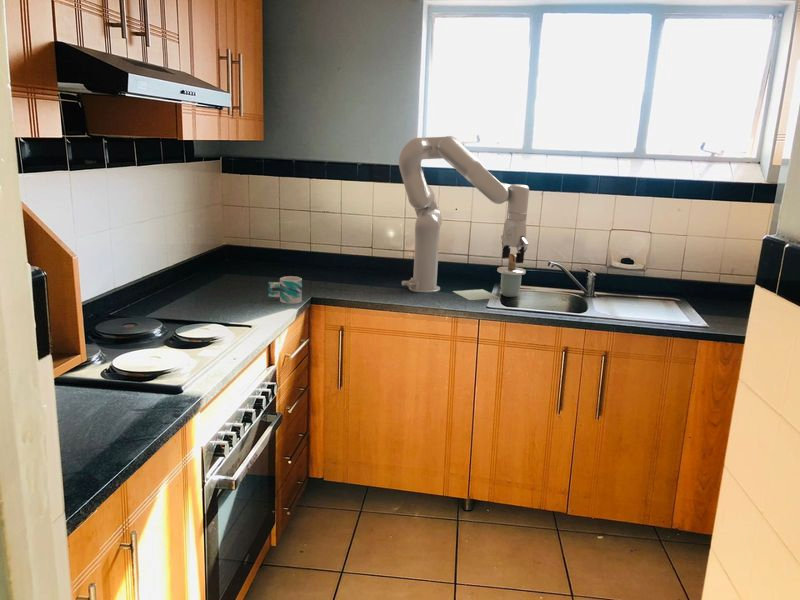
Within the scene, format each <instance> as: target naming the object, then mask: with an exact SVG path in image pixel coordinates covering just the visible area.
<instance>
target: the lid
mask: <svg viewBox="0 0 800 600" xmlns="http://www.w3.org/2000/svg"><path fill="white" fill-rule="evenodd" d="M507 263H508V264H507V266H499V267H497V270H496V271H497V272H498V273H499V274H502V273H503V274H508V275H522V276H523V275H525V274H526V272H527V271H526V269H524V268H522V267H517V263H516V254H515V253H510V254H509V258H508V262H507Z"/></svg>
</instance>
